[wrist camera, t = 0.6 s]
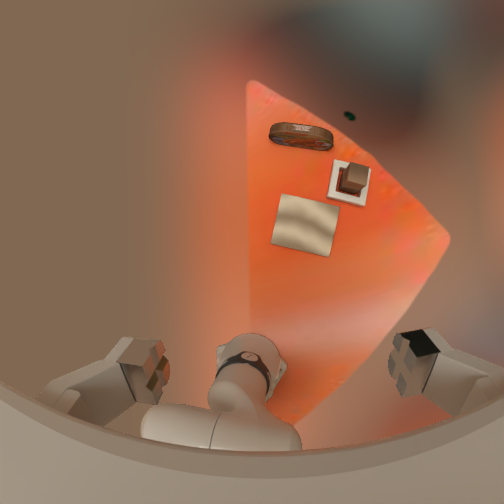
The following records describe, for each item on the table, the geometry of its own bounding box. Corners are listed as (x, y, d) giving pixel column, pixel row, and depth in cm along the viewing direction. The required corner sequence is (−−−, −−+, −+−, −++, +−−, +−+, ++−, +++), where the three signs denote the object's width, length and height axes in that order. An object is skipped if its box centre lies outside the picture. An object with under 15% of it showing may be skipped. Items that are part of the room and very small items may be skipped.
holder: (361, 206, 61) (364, 205, 58) (326, 197, 62) (327, 196, 59) (367, 171, 60) (370, 169, 57) (332, 162, 61) (334, 159, 58)
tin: (270, 143, 63) (266, 131, 55) (271, 132, 63) (268, 119, 55) (330, 152, 61) (335, 141, 53) (331, 141, 61) (336, 129, 53)
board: (328, 256, 63) (328, 257, 62) (271, 243, 65) (270, 243, 64) (339, 207, 62) (339, 206, 60) (281, 194, 64) (281, 193, 62)
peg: (353, 194, 61) (366, 185, 49) (338, 190, 61) (347, 180, 50) (356, 178, 61) (369, 167, 49) (341, 174, 61) (350, 161, 49)
